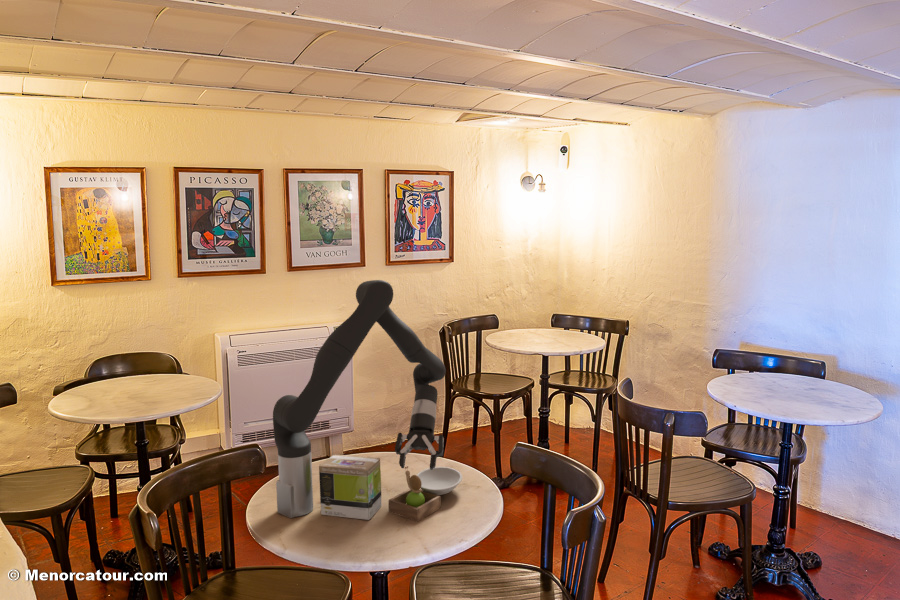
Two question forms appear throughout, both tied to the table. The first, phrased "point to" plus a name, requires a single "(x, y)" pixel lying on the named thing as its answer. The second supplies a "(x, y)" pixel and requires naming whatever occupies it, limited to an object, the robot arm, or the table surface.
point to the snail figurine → (414, 490)
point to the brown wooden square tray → (413, 513)
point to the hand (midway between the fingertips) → (416, 468)
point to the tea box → (350, 486)
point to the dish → (439, 480)
